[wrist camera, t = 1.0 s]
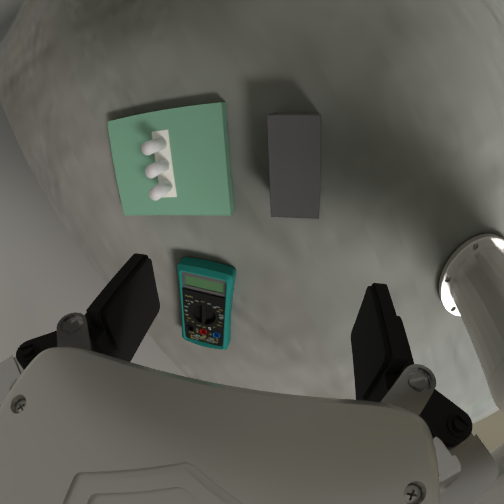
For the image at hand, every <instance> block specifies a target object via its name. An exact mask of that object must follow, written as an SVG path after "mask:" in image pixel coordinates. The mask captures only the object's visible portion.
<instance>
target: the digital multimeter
mask: <svg viewBox="0 0 504 504" xmlns="http://www.w3.org/2000/svg"><path fill="white" fill-rule="evenodd" d="M177 273H178V282H179V290H180V301H181V316H182V337H183V338H184V339H185V340H187V341H190V342H192V343H195V344H198V345H201V346H204V347H209V348H214V349H225V350H226V349H227V348H228V346H229V343H230V327H231V308H232V298H233V290H234V283H235V276H236V269H235V268H234V267H231V266H227V265H224V264H221V263H217V262H213V261H208V260H203V259H197V258H189V257H183V258H182V259H181V261H180V262H179V263H178V265H177ZM223 330H224V331H223Z"/></svg>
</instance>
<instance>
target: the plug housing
mask: <svg viewBox="0 0 504 504" xmlns="http://www.w3.org/2000/svg"><path fill="white" fill-rule="evenodd" d="M267 129H268V152H269V177H270V206H271V217H292V218H316V219H319V209H320V176H321V115H320V114H319V113H272V114H269V115H267Z"/></svg>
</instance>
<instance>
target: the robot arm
mask: <svg viewBox="0 0 504 504" xmlns="http://www.w3.org/2000/svg"><path fill="white" fill-rule="evenodd" d="M439 296H440V299H441V301H442V304H443V306H444V307H445V309H446V310H447V311H448V312H450V313H451V314H454V315H456V316H461V318H462V320H463V322H464V324H465V327H466V329H467V331H468V333H469V336H470V338H471V340H472V343H473V345H474V348H475V350H476V353H477V355H478V358H479V361H480V363H481V366H482V369H483V371H484V374H485V377H486V380H487V383H488V386H489V389H490V392H491V395H492V398H493V400H494V402H495V404H496V406H497V407H498V408H499V409H500V410H501V411H503V412H504V239H503V238H501V237H500V236H498V235H495V234H481V235H478V236H475V237H473V238H471V239H469V240H468V241H466V242H465V243H463V244H462V245H461V246H460V247H459V248H458V249H457V250H456V251H455V252H454V253H453V254H452V255H451V257H450V258H449V259H448V261H447V263H446V265H445V266H444V268H443V271H442V273H441V276H440V280H439ZM159 309H160V302H159V298H158V293H157V288H156V283H155V277H154V272H153V266H152V261H151V259H149V258H148V256H147V255H144V254H137V253H136V254H134V255H133V256H132V257H131V258H130V259H129V260H128V261H127V262H126V263H125V265H124V266H123V267H122V268H121V269H120V270H119V271H118V273H117V274H116V275H115V276H114V277H113V278H112V280H111V281H110V282H109V283H108V284H107V286H106V287H105V288H104V289H103V290H102V292H101V293H100V294H99V295H98V297H97V298H96V299H95V300H94V301H93V303H92V304H91V305H90V306H89V308H88V309H87V310H86V311H87V313H86V314H85V316H84V315H83V314H81V313H70V314H67V315H66V316H64V317H62V318H61V320H60V321H59V322H58V324H57V331H55V332H52V333H49V334H46V335H43V336H40V337H37V338H34V339H31V340H28V341H26V342H24V343H23V344H22V345H20V347H19V348H18V350H17V352H16V357H13V356H11V357H9V358H7V359H6V360H4V361H3V362H1V363H0V504H504V444H502V445H501V446H499V447H498V448H496V449H495V450H493V451H491V452H490V453H489V451H488V450H487V448H486V447H485V445H484V444H483V443H482V442H481V440H480V439H479V437H478V436H477V434H476V435H475V436H473V434H472V433H471V431H472V421H471V419H470V417H469V415H468V414H467V413H466V412H464V411H463V410H462V409H460V408H459V407H458V406H456V405H455V404H454V403H453V402H451V401H450V400H449V399H447V398H446V397H445V396H443V395H442V394H441V393H439V392H438V391H437V390H435V386H436V379H435V376H434V374H433V373H432V371H431V370H430V369H428V368H427V367H425V366H423V365H420V364H414V362H413V358H412V354H411V350H410V346H409V343H408V339H407V336H406V332H405V329H404V326H403V322H402V319H401V317H399V316H397V315H396V312H395V309H394V306H393V303H392V299H391V296H390V293H389V290H388V287H387V285H386V284H379V283H373V284H372V286H368V287H367V290H366V293H365V296H364V299H363V302H362V304H361V307H360V310H359V313H358V316H357V318H356V321H355V324H354V327H353V329H352V333H351V344H352V354H353V364H354V376H355V390H356V400H351V399H335V398H322V397H310V396H300V395H290V394H281V393H273V392H266V391H259V390H252V389H246V388H240V387H234V386H228V385H223V384H217V383H212V382H207V381H202V380H198V379H193V378H189V377H184V376H180V375H175V374H172V373H168V372H164V371H160V370H156V369H152V368H149V367H145V366H141V365H138V364H134V363H131V362H130V361H131V360H132V358H133V356H134V354H135V352H136V351H137V349H138V347H139V345H140V343H141V341H142V340H143V338H144V336H145V334H146V333H147V331H148V329H149V328H150V326H151V324H152V322H153V321H154V319H155V317H156V315H157V314H158V312H159ZM439 477H440V482H439ZM407 485H408V486H407Z"/></svg>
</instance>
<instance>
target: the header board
mask: <svg viewBox="0 0 504 504" xmlns="http://www.w3.org/2000/svg"><path fill="white" fill-rule="evenodd" d="M107 123H108V130H109V137H110V144H111V151H112V157H113V162H114V168H115V173H116V179H117V184H118V189H119V194H120V198H121V203H122V208H123V212H124V215H225V216H231V214H232V213H233V211H234V202H233V190H232V177H231V165H230V152H229V139H228V126H227V112H226V102H220V103H210V104H201V105H193V106H186V107H179V108H172V109H166V110H160V111H154V112H149V113H144V114H139V115H134V116H129V117H125V118H120V119H116V120H112V121H108V122H107Z"/></svg>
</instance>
